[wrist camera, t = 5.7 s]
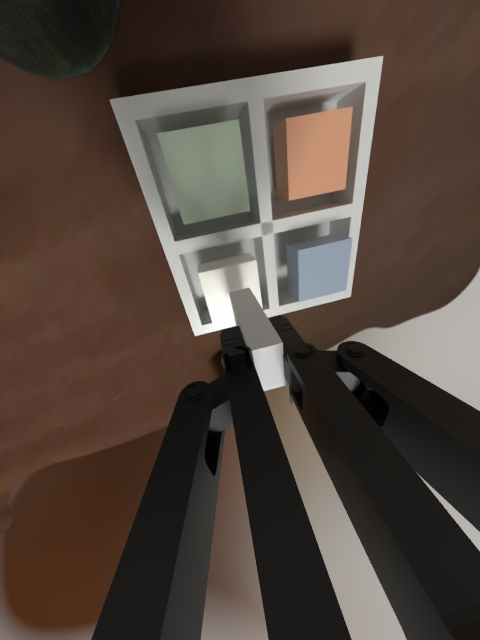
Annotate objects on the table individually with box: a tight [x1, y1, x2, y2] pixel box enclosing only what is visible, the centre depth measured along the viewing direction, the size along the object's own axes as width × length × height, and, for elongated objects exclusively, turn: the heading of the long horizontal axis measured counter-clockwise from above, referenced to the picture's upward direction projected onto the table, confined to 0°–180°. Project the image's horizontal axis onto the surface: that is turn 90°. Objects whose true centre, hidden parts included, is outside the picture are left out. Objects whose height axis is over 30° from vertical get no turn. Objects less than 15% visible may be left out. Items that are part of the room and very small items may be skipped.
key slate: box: [286, 234, 352, 302], centre depth 19 cm, size 5×5×3 cm
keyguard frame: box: [110, 56, 383, 336], centre depth 18 cm, size 17×17×3 cm
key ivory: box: [198, 253, 263, 323], centre depth 18 cm, size 5×5×3 cm
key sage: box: [157, 119, 250, 225], centre depth 14 cm, size 5×5×3 cm
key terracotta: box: [273, 107, 353, 201], centre depth 16 cm, size 5×5×3 cm
